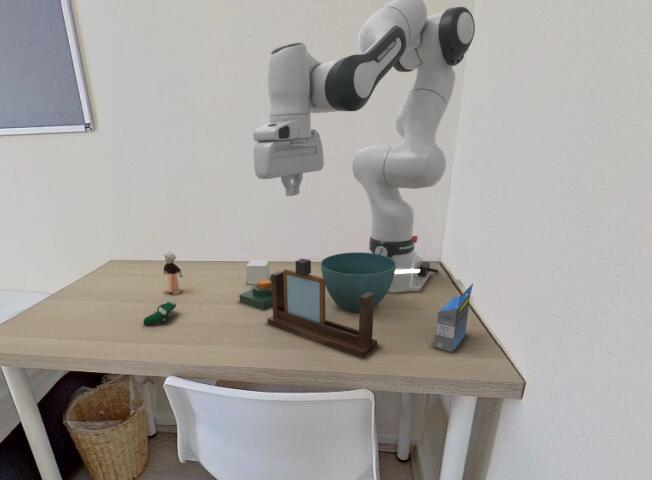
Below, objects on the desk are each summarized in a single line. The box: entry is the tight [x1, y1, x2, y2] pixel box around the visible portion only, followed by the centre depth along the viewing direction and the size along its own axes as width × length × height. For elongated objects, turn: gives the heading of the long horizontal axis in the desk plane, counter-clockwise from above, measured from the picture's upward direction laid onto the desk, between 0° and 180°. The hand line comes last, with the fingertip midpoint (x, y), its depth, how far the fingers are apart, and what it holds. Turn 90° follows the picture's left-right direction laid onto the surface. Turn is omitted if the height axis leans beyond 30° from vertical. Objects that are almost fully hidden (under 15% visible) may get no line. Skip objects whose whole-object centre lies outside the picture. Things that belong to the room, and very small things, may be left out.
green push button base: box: [238, 283, 273, 311], centre depth 109 cm, size 11×9×4 cm
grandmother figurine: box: [162, 251, 183, 295], centre depth 116 cm, size 8×4×13 cm, turn 68°
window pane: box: [282, 258, 326, 324], centre depth 88 cm, size 2×11×15 cm, turn 48°
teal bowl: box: [320, 251, 396, 315], centre depth 100 cm, size 18×18×12 cm
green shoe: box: [143, 298, 177, 326], centre depth 100 cm, size 9×4×6 cm
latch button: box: [258, 279, 271, 289], centre depth 108 cm, size 4×4×2 cm
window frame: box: [266, 270, 379, 359], centre depth 87 cm, size 6×26×12 cm, turn 48°
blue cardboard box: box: [433, 283, 474, 353], centre depth 81 cm, size 9×4×12 cm, turn 140°
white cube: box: [245, 259, 271, 285], centre depth 123 cm, size 6×6×6 cm
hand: (292, 195), depth 90 cm, fingers closed
